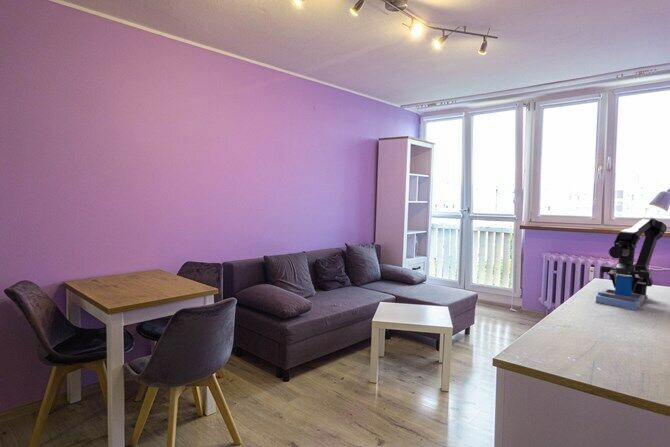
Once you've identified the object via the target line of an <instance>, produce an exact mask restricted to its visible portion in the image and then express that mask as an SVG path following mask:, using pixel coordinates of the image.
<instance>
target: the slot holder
mask: <svg viewBox="0 0 670 447" xmlns="http://www.w3.org/2000/svg"><path fill="white" fill-rule="evenodd" d="M645 299H646V298H645V295H641V294H635V293H632V296H631V297H630V296H624V295H619V294H615V289H610V288H606V289H604V290H603V291H598V292H597V295H595V303H598V302H599V303H598V304H603V303H604V304H603V305H608V304H609V305H608V306H613V305H614V306H615V307H620V308H623V309H624V308H625V309H629V310H635V311H636V310H638V309H639V307H641V305H642V304H643V303H644V302H645Z"/></svg>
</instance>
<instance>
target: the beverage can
mask: <svg viewBox="0 0 670 447" xmlns="http://www.w3.org/2000/svg"><path fill="white" fill-rule="evenodd" d="M632 285H633V278H632V276H631V275H624V274H616V285H615V288H614V290H615V294H619V295H624V296H630V297H631V296H632Z"/></svg>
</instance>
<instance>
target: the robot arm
mask: <svg viewBox="0 0 670 447" xmlns="http://www.w3.org/2000/svg"><path fill="white" fill-rule="evenodd" d="M667 230H668V229H667V225H666V224H665V223H664V222H662V221H660V220H657V219H656V218H654V217H646V216H645V217H641V218H640V220H639V221H638V222H636V223H635V224H634V225H632V226H631V227H630V228H629V227H628V228H624V229H623V230H622V229H621V230H620V231H619V232H618V233H617V236H616V237H615V240H614V242H613V245H614V246H611V247H610V248H609V249H608V254H609V256H610V257H611V258H613V259H618V262H617V264H616V267H614V266H613V265H607V264H605V265H601V267H600V271H599V272H600V273H606V275H608V276H609V277H610V279H611V282H612V285H613V288H614V289H615V285H616V276H617V275H618V274H624V275H631V276H632V278H633V285H632V293H635V294H641V295H645V298H644V299H647V298H648V297H647V296H648V295H647V288H648V287H652V286H653V278H652V271H650V269H649V265H650V263H651V259H652V257H653V253H654V250H655V248H656V245H657V241H659V240H660V239H661V238H663V237H664V235H665V233H666V231H667ZM642 234H644V236H645V237H644V240H643V243H642V245H641V249H640V252H639V254H638V256H637V260H636V263H635V253H636V248H637V244H638V242H639V241H640V239H641V236H642Z"/></svg>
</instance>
